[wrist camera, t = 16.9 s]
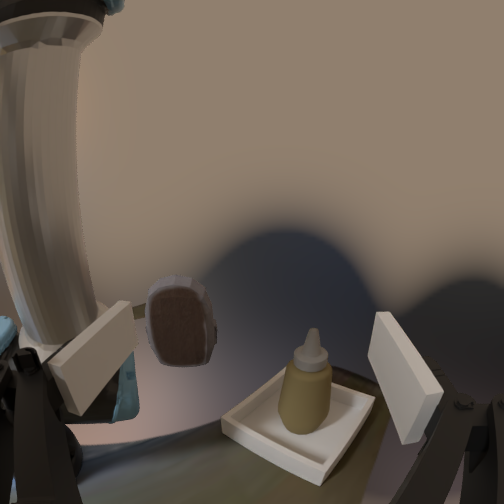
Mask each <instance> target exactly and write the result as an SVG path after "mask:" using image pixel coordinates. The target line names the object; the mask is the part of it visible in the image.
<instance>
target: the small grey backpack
mask: <svg viewBox="0 0 504 504" xmlns="http://www.w3.org/2000/svg"><path fill="white" fill-rule="evenodd" d="M145 316H146V324H147V326H146V332H147V335H148V340H149V344H150V345H151V348H152V350H153V351H154V353H155V355H156V357H157V358H158V360H159V362H160V363H161V364H164V365H167V366H175V367H193V366H200V365H204V364H207V363H208V362H209V360H210V357H211V354H212V350H213V348H214V345H215V344H216V343H217V324H216V320H215V319H213V312H212V304H211V301H210V299H209V297H208V295H207V292H206V288H205V287H204V286H202V285H201V284H200V283H198V282H197V281H196V280H194V279H193V278H190V277H185V276H179V275H172V276H168V277H164V278H160V279H159V280H158V281H157V282H156V283H155V284H154V285H153V286H152V287H150V288H149V289H148V299H147V303H146V308H145Z"/></svg>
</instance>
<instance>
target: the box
mask: <svg viewBox="0 0 504 504" xmlns="http://www.w3.org/2000/svg"><path fill="white" fill-rule="evenodd" d="M285 370H286V367H285V368H284V369H283V370H281V371H280V372H279V373H278V374H277V375H275V376H274V377H273V378H272V379H270V380H269V381H268V382H267V383H265V384H264V385H263V386H262V387H260V388H259V389H258V390H256V391H255V392H254V393H253V394H251V395H250V396H249V397H247V398H246V399H245V400H243V401H242V402H241V403H239V404H238V405H237V406H235V407H234V408H232V409H231V410H230V411H228V412H227V413H226V414H224V415H223V416H221V426H222V433H223V434H225V435H226V436H228V437H230V438H231V439H233V440H234V441H236V442H237V443H239V444H241V445H242V446H244V447H246V448H247V449H249V450H251V451H252V452H254V453H256V454H257V455H259V456H261V457H263V458H264V459H266V460H268V461H270V462H272V463H274V464H275V465H277V466H279V467H281V468H283V469H285V470H287V471H289V472H291V473H293V474H295V475H297V476H299V477H301V478H303V479H305V480H307V481H309V482H311V483H314V484H316V485H318V486H321V485H322V483H323V482H324V481H325V479H326V478H327V477H328V475H329V474H330V473H331V471H332V470H333V469H334V467H335V466H336V465H337V463H338V462H339V461H340V459H341V458H342V456H343V455H344V453H345V452H346V450H347V449H348V448H349V446H350V445H351V443H352V441H353V440H354V438H355V437H356V435H357V434H358V432H359V431H360V429H361V427H362V426H363V424H364V423H365V421H366V419H367V418H368V416H369V414H370V412H371V409H372V406H373V403H374V400H375V397H373V396H370V395H367V394H364V393H361V392H358V391H355V390H352V389H349V388H346V387H343V386H340V385H338V384H335V383H332V384H331V398H330V410H329V413H328V415H327V417H326V419H325V420H324V421H323V422H322V424H321V425H320V426H319V427H318V428H317V429H316V430H315V431H314V432H312V433H309V434H306V435H298V434H294V433H291V432H290V431H288V430H287V429H286V428H285V426H284V425H283V422H282V420H281V418H280V415H279V413H278V402H279V398H280V394H281V389H282V384H283V380H284V375H285Z"/></svg>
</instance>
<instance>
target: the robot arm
mask: <svg viewBox="0 0 504 504" xmlns="http://www.w3.org/2000/svg"><path fill="white" fill-rule="evenodd" d="M124 1H125V0H0V262H1V265H2V268H3V271H4V275H5V278H6V281H7V284H8V288H9V290H10V293H11V296H12V299H13V301H14V304H15V307H16V309H17V312H18V314H19V317H20V319H21V322H22V324H23V326H22V328H21V331H20V333H18V332H17V326H16V325H15V324H14V322H13V320H12V319H10V318H9V317H6V316H0V504H9V501H10V493H11V486H12V480H13V478H14V479H15V481H16V491H17V503H11V504H83V503H82V500H81V496H80V493H79V490H78V486H77V483H76V479H75V477H76V476H77V474H78V473H79V471H80V468H81V465H82V460H83V455H82V449H81V446H80V444H79V442H78V440H77V439H76V437H75V435H74V434H73V432H72V431H71V430H70V429H69V428H68V427H67V426H66V425H65V424H95V423H109V424H112V423H115V422H116V421H123V420H129V419H133V418H135V417H136V416H137V414H138V412H139V408H140V407H139V397H138V388H137V381H136V374H135V362H134V352H133V350H134V349H135V348H136V346H137V345H138V339H137V334H136V328H135V323H134V317H133V311H132V305H131V302H128V301H118V302H117V303H116V304H115V305H114V306H112V307H111V308H110V309H108V308H107V307H106V306H105V305H104V304H102V303H100V302H98V301H96V299H95V295H94V290H93V286H92V281H91V277H90V271H89V266H88V260H87V255H86V249H85V243H84V236H83V229H82V221H81V213H80V203H79V194H78V193H79V192H78V180H77V161H76V107H77V89H78V77H79V67H80V58H81V53H82V52H83V51H84V49H85V48H86V47H87V46H88V45H90V43H92V42H93V41H94V40H95V39H97V38H98V37H99V36H100V35H101V32H102V27H103V22H104V17H105V15H106V14H107V15H114V14H115V13H118V12H120V11H122V10H123V8H124ZM368 359H369V361H370V363H371V366H372V368H373V371H374V373H375V375H376V378H377V380H378V383H379V385H380V388H381V390H382V393H383V395H384V398H385V400H386V403H387V405H388V408H389V411H390V413H391V416H392V419H393V421H394V424H395V427H396V429H397V432H398V435H399V437H400V440H401V443H402V445H405V444H410V443H415V442H419V440H420V438H421V437H422V435H423V433H425V435H426V437H427V440H426V442H425V444H424V445H423V447H422V449H421V450H420V452H419V453H418V457H417V459H416V461H415V463H414V464H413V466H412V468H411V470H410V471H409V473H408V475H407V477H406V478H405V480H404V482H403V483H402V485H401V486H400V488H399V490H398V491H397V493H396V494H395V496H394V497H393V499H392V500H391V502H390V503H389V504H444V502H445V499H446V497H447V495H448V493H449V491H450V488H451V486H452V484H453V481H454V479H455V476H456V474H457V471H458V468H459V466H460V463H461V460H462V457H463V454H464V451H465V457H464V472H463V482H462V491H461V498H460V504H504V394H497V395H495V396H494V398H493V399H492V401H491V403H490V404H476V402H475V400H474V399H473V398H472V397H471V396H469V395H467V394H463V393H458V392H457V391H456V389H455V388H454V386H453V385H452V383H451V382H450V381H449V379H448V378H447V376H445V373H444V372H443V370H441V368H440V366H439V365H438V363H437V362H436V361H435V360H433V359H432V358H430V357H429V356H425V357H421V355H420V354H419V353H418V351H417V350H416V348H415V347H414V345H413V344H412V343H411V341H410V340H409V338H408V337H407V335H406V334H405V332H404V331H403V330H402V328H401V327H400V326H399V324H398V323H397V322H396V320H395V319H394V317H393V316H392V314H391V313H390V312H376V317H375V322H374V328H373V332H372V337H371V342H370V347H369V351H368Z"/></svg>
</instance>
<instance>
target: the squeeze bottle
mask: <svg viewBox="0 0 504 504" xmlns="http://www.w3.org/2000/svg"><path fill="white" fill-rule="evenodd" d="M327 360H328V353H327V351H326V350H325V349H324V348H322V347H320V339H319V332H318V329H317V328H311V329H310V330H309V332H308V335H307V338H306V341H305V344H304V345H303V346H300V347H299V348H297V349H296V350H295V352H294V359H293V360H291V361H289V363H288V364H287V366H286V370H285V375H284V380H283V384H282V389H281V394H280V398H279V402H278V413H279V415H280V418H281V420H282V422H283V425H284V426H285V428H286V429H287V430H288V431H290V432H291V433H294V434H298V435H306V434H309V433H312V432H314V431H315V430H316V429H317V428H318V427H319V426H320V425H321V424H322V422H323V421H324V420H325V419H326V417H327V415H328V413H329V410H330V398H331V384H332V368H331V365H330V364H329V363H328V362H327Z"/></svg>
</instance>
